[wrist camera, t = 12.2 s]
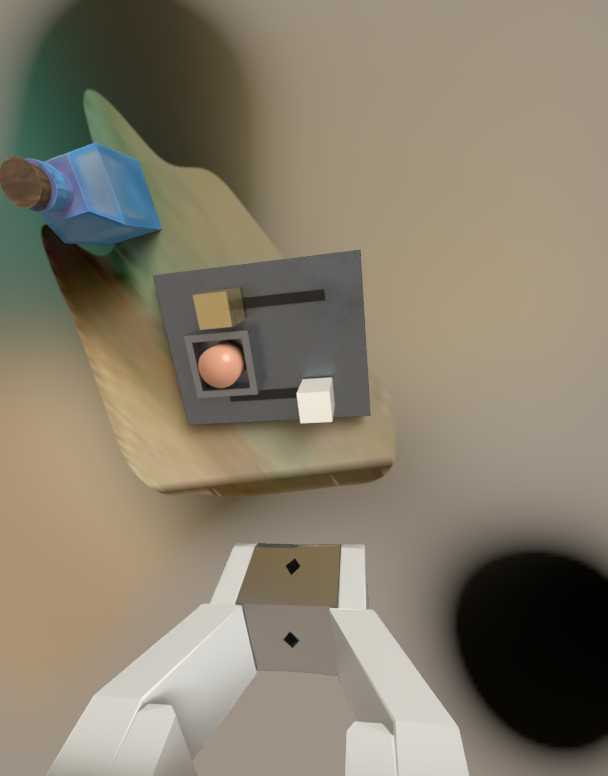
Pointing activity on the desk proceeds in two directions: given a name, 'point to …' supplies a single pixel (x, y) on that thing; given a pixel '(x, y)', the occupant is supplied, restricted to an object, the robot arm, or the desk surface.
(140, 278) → the desk surface
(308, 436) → the desk surface
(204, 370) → the push button
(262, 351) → the console
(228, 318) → the brass slider
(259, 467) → the desk surface
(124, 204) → the perfume bottle
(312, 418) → the ivory slider
